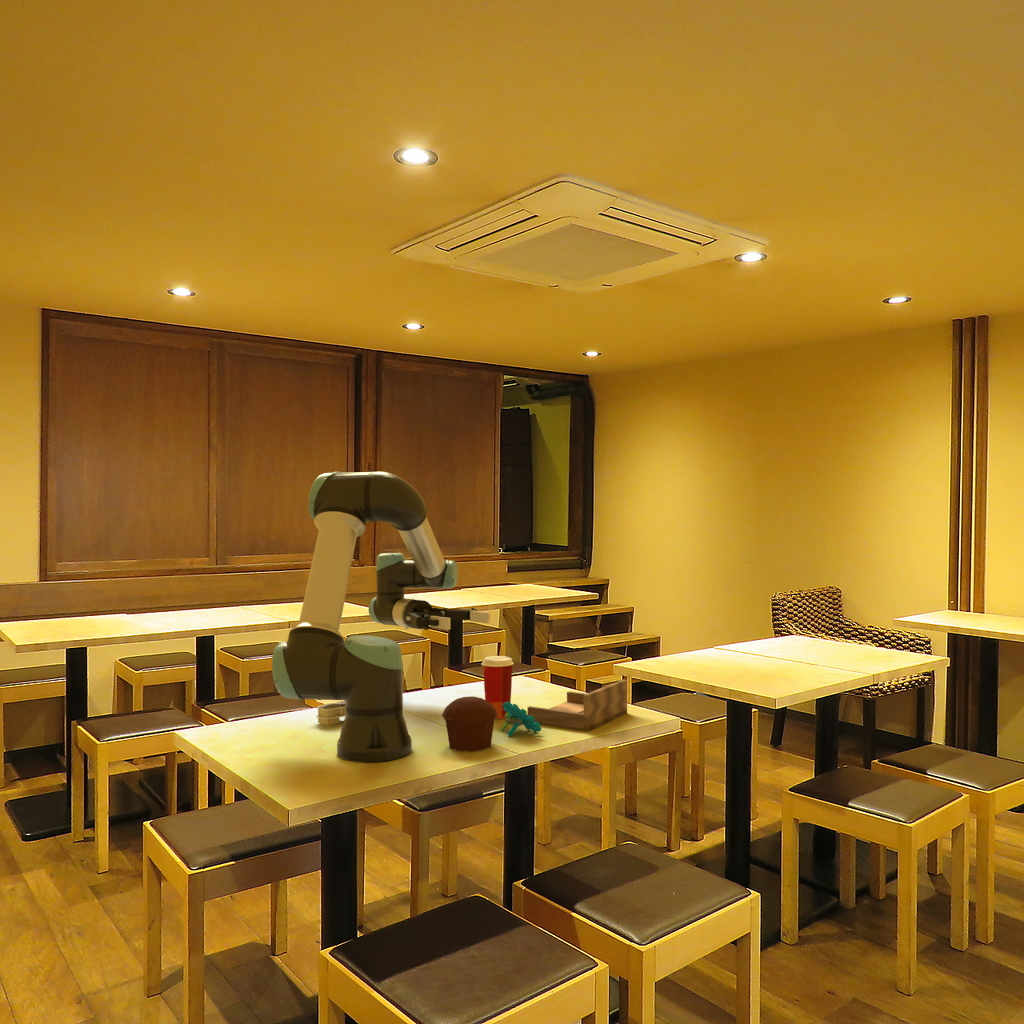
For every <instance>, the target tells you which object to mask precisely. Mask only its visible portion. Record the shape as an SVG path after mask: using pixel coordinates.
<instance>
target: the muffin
mask: <svg viewBox="0 0 1024 1024" xmlns="http://www.w3.org/2000/svg"><path fill="white" fill-rule="evenodd" d="M497 715H498V714H497V712H496V710H495V708H494V707H493V706H492V705H491V704H490V703H489V702H487V701H486V700H485V698H482V697H478V696H462V697H458V698H456V699H455V700H453V701H451V702H449V704H448V705H446V707H444V710H443V712H442V713H441V717H442V718H443V719H444V720H445V725H446V731H447V738H448V743H449V744H448V745H449V749H452V750H455V751H458V752H468V753H472V752H478V751H485V750H487V749H489V748H491V747H492V741H493V740H492V739H493V732H494V731H493V730H494V726H495V725H494V723H495V720H496V719H495V718H496V716H497Z"/></svg>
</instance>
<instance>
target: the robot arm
mask: <svg viewBox="0 0 1024 1024" xmlns="http://www.w3.org/2000/svg"><path fill="white" fill-rule="evenodd" d="M308 502H309V503H308V507H307V509H308V512H309V516H310V518H311V520H313V523H314V526H315V527H316V528H317V530H318V533H317V538H316V542H315V547H314V550H313V551H314V552H313V554H312V559H311V564H310V570H309V575H308V579H307V584H306V588H305V592H304V593H305V594H304V597H303V602H302V607H301V611H300V616H299V621H298V624H297V625H296V626H294V627H292V628H290V630H289V633H288V637H287V641H284V640H283V641H282V642H281V641H280V642H278V643H277V644H276V646H275V647H274V649H273V653H272V657H271V658H272V659H271V672H272V678H273V682H274V686H275V688H276V690H277V692H278V694H280V695H281V696H282V697H284V698H286V699H293V700H299V701H305V700H314V701H315V700H317V701H320V700H344V701H343V702H345V705H346V715H345V716H344V719H343V723H342V727H341V730H340V733H339V734H340V735H339V738H338V740H337V744H336V750H337V751H336V752H337V753H336V754H337V756H338V757H339V758H341V759H343V760H346V761H349V762H350V761H351V762H358V763H359V762H362V763H373V762H375V763H378V762H386V761H391V760H396V759H400V758H402V757H406V756H407V755H409V754H411V752H412V751H413V750H412V749H413V748H412V747H413V745H412V743H413V742H412V738H411V735H410V734H409V731H408V729H409V728H408V726H407V723H406V719H405V715H404V704H403V703H404V702H403V700H404V697H403V693H404V692H403V691H404V689H403V682H404V681H403V677H404V675H403V673H404V671H403V670H404V669H403V668H404V663H403V651H402V650H403V649H402V647H401V645H400V644H399V643H398V642H397V641H395V640H392V639H390V638H386V637H382V636H381V637H380V636H374V635H350V636H348V637H346V638H344V636H343V635H342V634H341V632H340V627H341V621H342V616H343V611H344V607H345V600H346V594H347V590H348V585H349V584H348V583H349V580H350V575H351V569H352V563H353V558H354V554H355V547H356V542H357V538H358V537H360V536H362V535H363V534H364V533H365V531H366V525H367V523H370V522H371V523H377V522H379V523H380V522H383V523H384V522H385V523H389V525H390V526H391V527H392V528H394V530H397V531H398V533H399V534H400V537H401V539H402V541H403V543H404V545H405V546H406V548H407V551H408V553H409V555H410V557H411V559H412V560H411V559H405V555H404V554H403V553H401V552H385V553H379V554H378V555H377V556H376V564H375V565H376V568H375V572H376V573H375V577H376V578H375V579H376V593H375V597H373V598H372V599H371V601H370V602H369V603H370V604H369V606H368V615H369V617H370V618H371V620H372V621H373V622H374V623H375V622H376V623H379V624H382V625H385V626H394V627H395V626H397V627H403V628H404V629H405V630H409V629H410V628H411V629H416V630H425V631H429V630H430V628H433V629H435V628H436V629H442V630H451V621H469V622H474V623H482V624H491V612H489V611H480V610H478V609H476V608H475V607H474V606H473V607H471V608H470V609H467V608H462V609H461V608H446V607H443V608H438V607H433V606H432V605H431V603H430V602H428V601H426V600H422V599H414V598H405V589H439V590H440V589H441V590H443V589H453V588H455V587H456V585H457V583H458V578H459V577H458V576H459V571H458V570H459V569H458V564H457V562H456V561H455V560H449V559H445V558H444V556H443V553H442V550H441V549H440V547H439V544H438V542H437V539H436V537H435V535H434V532H433V529H432V526H431V525H430V523H429V520H428V507H427V505H426V504H427V503H426V502H425V500H424V498H423V497H422V495H421V494H420V493H419V491H418V490H417V489H416V488H415V487H414V486H413V485H412V484H410V483H409V482H408V481H406V480H405V479H403V478H402V477H400V476H398V475H395V474H394V473H391V472H387V471H362V472H361V471H360V472H355V471H354V472H353V471H352V472H343V471H333V472H326V473H323V474H320V475H319V476H317V477H316V478H315V480H314V481H313V482H312V485H311V487H310V490H309V495H308Z"/></svg>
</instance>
